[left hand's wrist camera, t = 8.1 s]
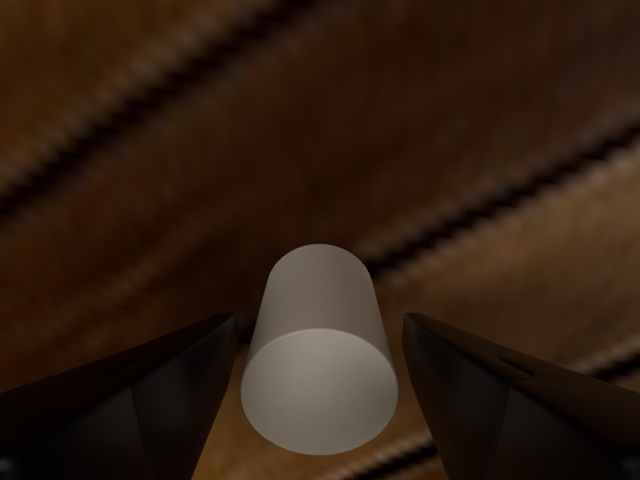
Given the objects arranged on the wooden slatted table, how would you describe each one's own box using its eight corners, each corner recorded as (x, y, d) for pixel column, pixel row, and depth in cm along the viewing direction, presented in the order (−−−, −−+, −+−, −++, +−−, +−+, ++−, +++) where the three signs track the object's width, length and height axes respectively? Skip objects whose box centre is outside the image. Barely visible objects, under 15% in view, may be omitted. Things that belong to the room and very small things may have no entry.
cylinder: (246, 302, 14) (209, 410, 9) (307, 222, 13) (300, 299, 8) (330, 354, 15) (334, 477, 10) (394, 282, 14) (432, 383, 9)
